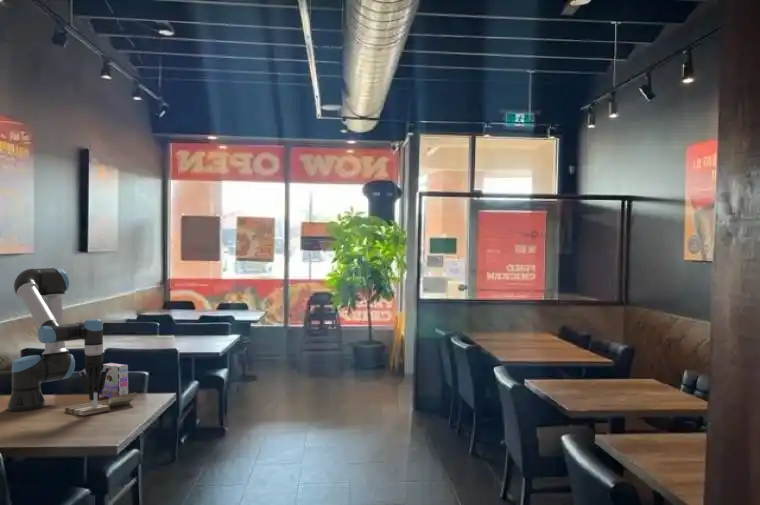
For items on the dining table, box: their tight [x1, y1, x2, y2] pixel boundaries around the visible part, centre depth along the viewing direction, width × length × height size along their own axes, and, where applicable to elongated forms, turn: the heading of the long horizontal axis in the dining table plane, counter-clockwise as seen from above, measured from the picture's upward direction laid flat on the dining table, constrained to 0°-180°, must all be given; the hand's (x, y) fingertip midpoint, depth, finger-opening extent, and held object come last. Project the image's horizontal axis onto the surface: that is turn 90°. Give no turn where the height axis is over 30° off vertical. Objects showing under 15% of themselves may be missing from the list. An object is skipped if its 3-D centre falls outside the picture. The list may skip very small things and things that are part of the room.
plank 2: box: [104, 392, 138, 408], centre depth 294 cm, size 8×12×2 cm
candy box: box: [101, 362, 129, 399], centre depth 313 cm, size 14×6×16 cm, turn 58°
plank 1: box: [74, 405, 111, 416], centre depth 283 cm, size 8×12×2 cm
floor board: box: [64, 398, 110, 415], centre depth 293 cm, size 8×27×2 cm, turn 141°
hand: (94, 407), depth 281 cm, fingers closed
